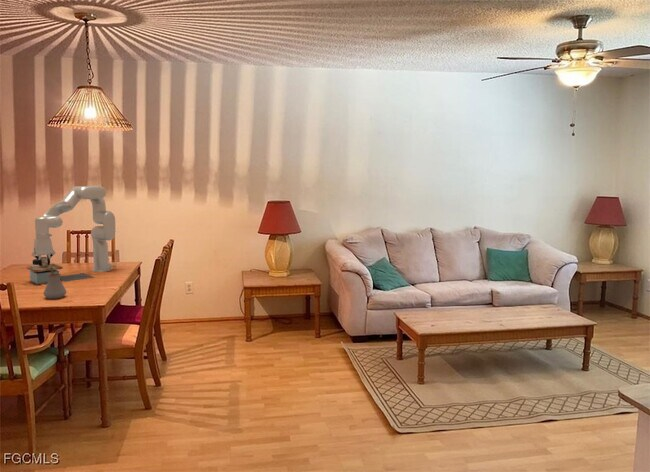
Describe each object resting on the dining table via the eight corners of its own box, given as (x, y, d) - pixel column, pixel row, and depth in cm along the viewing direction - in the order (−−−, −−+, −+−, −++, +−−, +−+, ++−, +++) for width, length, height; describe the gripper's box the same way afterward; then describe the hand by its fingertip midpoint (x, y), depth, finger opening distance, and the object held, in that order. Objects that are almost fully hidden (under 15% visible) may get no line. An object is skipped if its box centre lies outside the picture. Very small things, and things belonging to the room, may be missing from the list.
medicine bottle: (39, 278, 346) (38, 260, 344) (30, 277, 347) (28, 259, 345) (47, 276, 353) (46, 258, 351) (37, 275, 354) (36, 258, 352)
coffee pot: (67, 298, 295) (66, 271, 293) (44, 300, 289) (43, 273, 287) (63, 290, 313) (62, 265, 311) (41, 292, 307) (40, 267, 305)
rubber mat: (83, 273, 362) (83, 273, 362) (95, 277, 349) (95, 277, 349) (53, 277, 349) (53, 277, 348) (64, 282, 335) (64, 281, 335)
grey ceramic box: (52, 278, 345) (51, 268, 344) (59, 281, 336) (59, 271, 335) (30, 281, 336) (29, 270, 335) (37, 284, 327) (36, 273, 326)
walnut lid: (53, 265, 346) (52, 254, 345) (62, 268, 335) (62, 257, 334) (26, 268, 335) (25, 257, 334) (35, 272, 324) (34, 260, 323)
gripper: (54, 234, 341) (56, 263, 343) (26, 237, 329) (27, 266, 331) (58, 236, 336) (60, 264, 338) (30, 238, 324) (31, 267, 326)
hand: (44, 265), depth 335 cm, fingers closed on walnut lid, 3 cm apart
